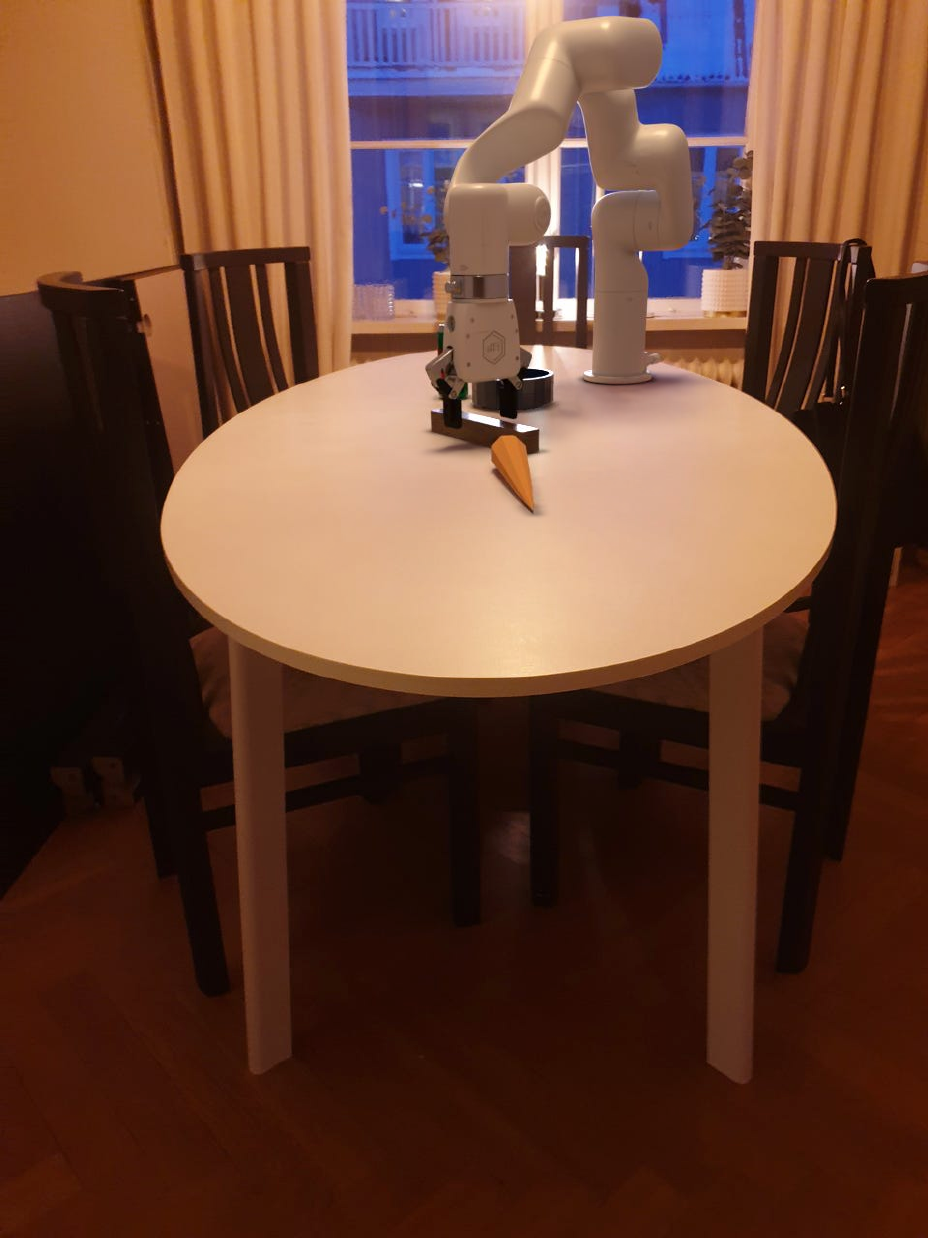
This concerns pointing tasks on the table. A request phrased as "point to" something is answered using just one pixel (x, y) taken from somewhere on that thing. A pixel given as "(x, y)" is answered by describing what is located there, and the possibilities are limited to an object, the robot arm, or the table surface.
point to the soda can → (464, 390)
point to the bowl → (530, 394)
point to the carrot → (513, 466)
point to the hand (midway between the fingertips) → (481, 422)
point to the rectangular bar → (486, 430)
